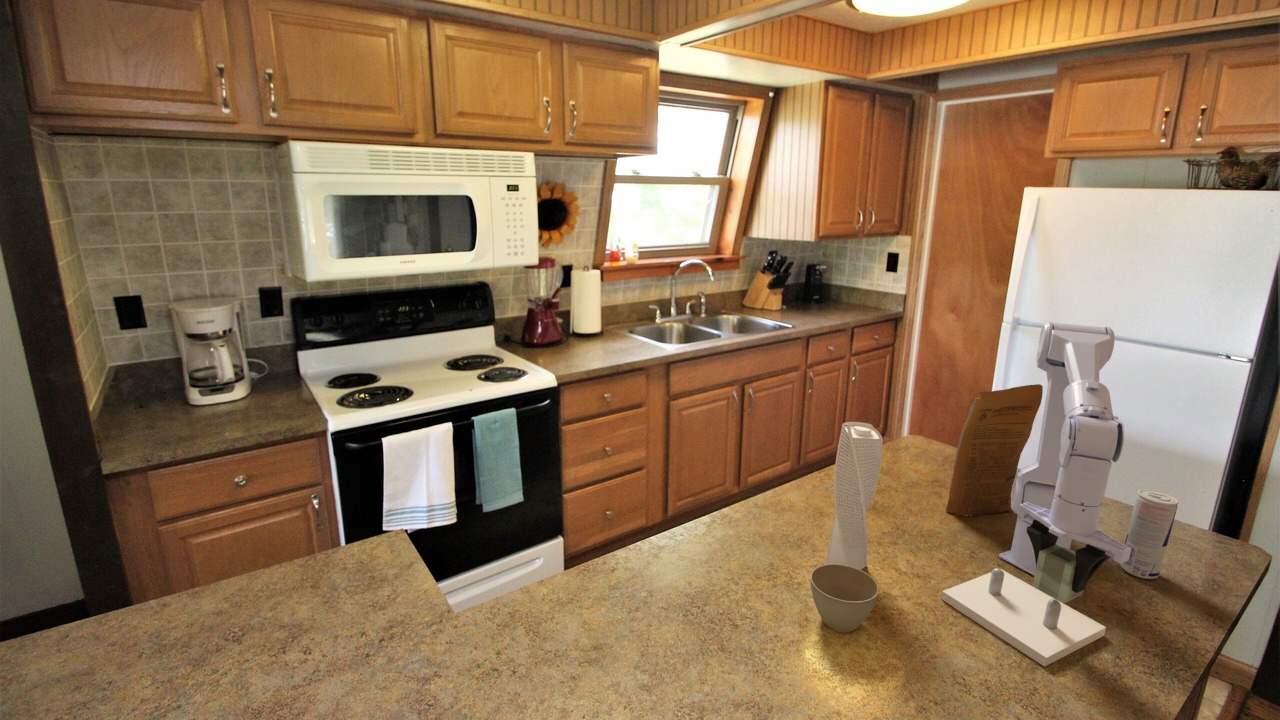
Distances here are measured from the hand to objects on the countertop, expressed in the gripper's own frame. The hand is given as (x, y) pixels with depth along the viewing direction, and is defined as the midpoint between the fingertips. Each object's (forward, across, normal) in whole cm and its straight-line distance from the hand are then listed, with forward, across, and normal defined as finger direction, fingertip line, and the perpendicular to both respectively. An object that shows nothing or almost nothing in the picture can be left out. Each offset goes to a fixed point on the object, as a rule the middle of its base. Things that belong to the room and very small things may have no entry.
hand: (1059, 580), depth 94 cm
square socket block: (+2, 0, 0) cm, 2 cm away
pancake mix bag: (+10, -30, +27) cm, 41 cm away
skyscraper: (+10, -27, -15) cm, 32 cm away
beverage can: (+10, -3, +32) cm, 34 cm away
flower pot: (+10, -16, -27) cm, 33 cm away
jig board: (+9, -4, 0) cm, 10 cm away
